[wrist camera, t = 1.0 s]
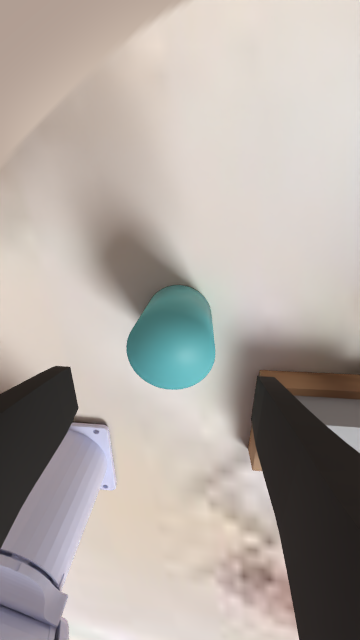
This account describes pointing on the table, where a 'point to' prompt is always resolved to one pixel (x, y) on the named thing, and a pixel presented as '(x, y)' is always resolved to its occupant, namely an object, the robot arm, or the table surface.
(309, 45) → the table surface
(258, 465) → the tower bottom
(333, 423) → the tower top
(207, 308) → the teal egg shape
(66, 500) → the robot arm
